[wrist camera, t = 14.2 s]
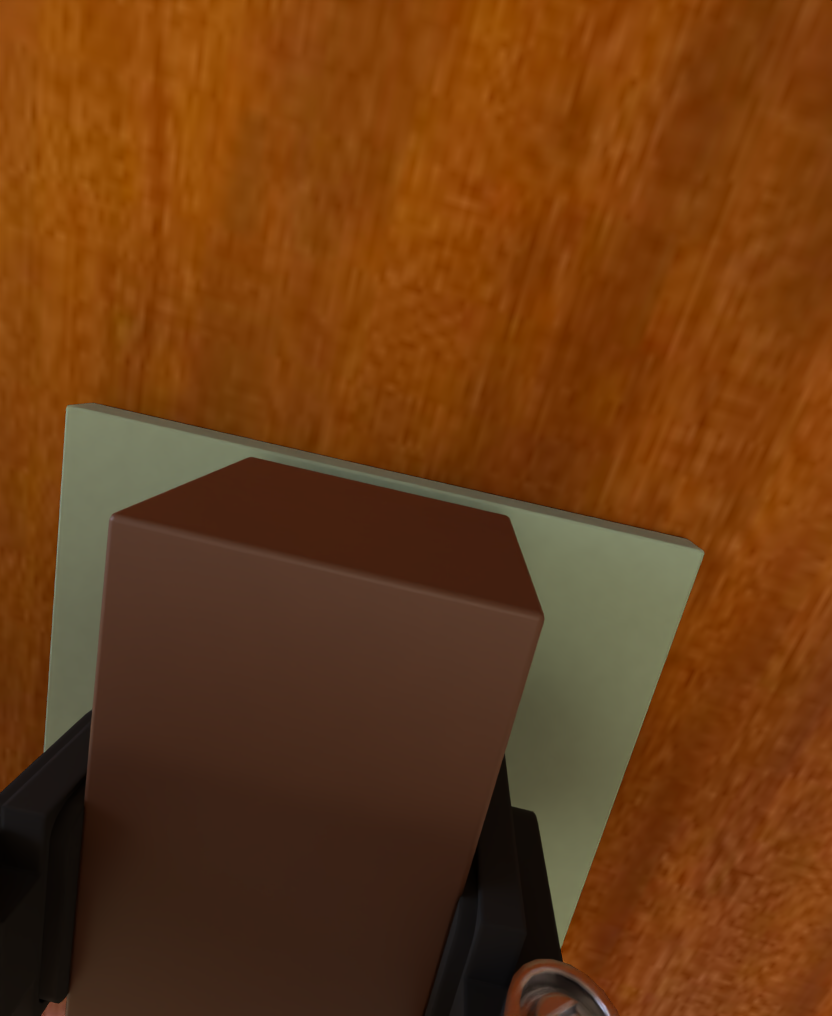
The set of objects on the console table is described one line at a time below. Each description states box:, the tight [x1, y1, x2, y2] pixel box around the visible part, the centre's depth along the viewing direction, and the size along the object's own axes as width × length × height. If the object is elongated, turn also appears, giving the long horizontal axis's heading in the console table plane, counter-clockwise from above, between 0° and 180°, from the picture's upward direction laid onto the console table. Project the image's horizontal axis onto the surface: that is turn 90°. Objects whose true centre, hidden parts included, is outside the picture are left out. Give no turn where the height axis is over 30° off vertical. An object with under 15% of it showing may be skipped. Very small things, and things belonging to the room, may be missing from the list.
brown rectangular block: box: [65, 457, 545, 1016], centre depth 9 cm, size 4×10×4 cm, turn 168°
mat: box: [44, 403, 704, 949], centre depth 12 cm, size 12×10×1 cm
